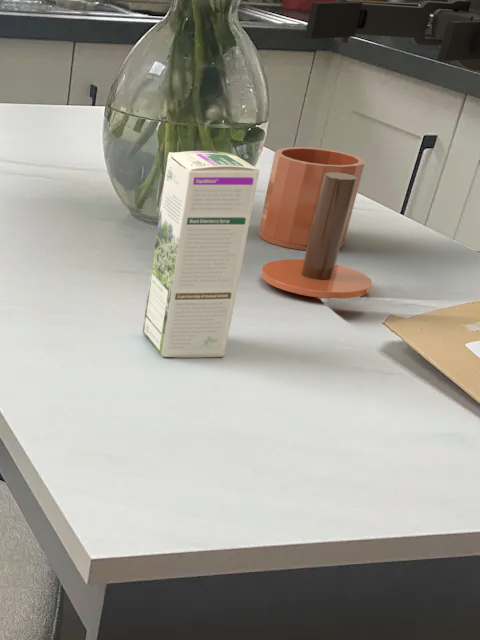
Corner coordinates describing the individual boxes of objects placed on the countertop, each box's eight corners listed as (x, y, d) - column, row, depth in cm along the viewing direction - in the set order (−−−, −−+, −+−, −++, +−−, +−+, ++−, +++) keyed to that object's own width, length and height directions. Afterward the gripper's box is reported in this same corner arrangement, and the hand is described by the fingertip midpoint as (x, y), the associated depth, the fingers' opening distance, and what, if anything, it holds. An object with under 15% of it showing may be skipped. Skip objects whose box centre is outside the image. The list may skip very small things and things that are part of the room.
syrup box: (226, 358, 88) (265, 167, 79) (158, 358, 87) (190, 165, 78) (203, 333, 93) (238, 150, 84) (138, 333, 92) (166, 148, 83)
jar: (249, 225, 123) (265, 145, 118) (328, 229, 124) (348, 149, 119) (271, 249, 116) (289, 164, 111) (355, 252, 116) (377, 168, 111)
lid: (247, 269, 109) (269, 160, 103) (348, 273, 110) (376, 166, 104) (275, 302, 101) (301, 186, 95) (384, 307, 101) (417, 192, 95)
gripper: (617, 91, 97) (493, 105, 86) (384, 51, 112) (253, 59, 101) (654, -7, 92) (527, -6, 82) (405, -34, 108) (271, -36, 97)
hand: (375, 30), depth 91 cm, fingers open, 13 cm apart
